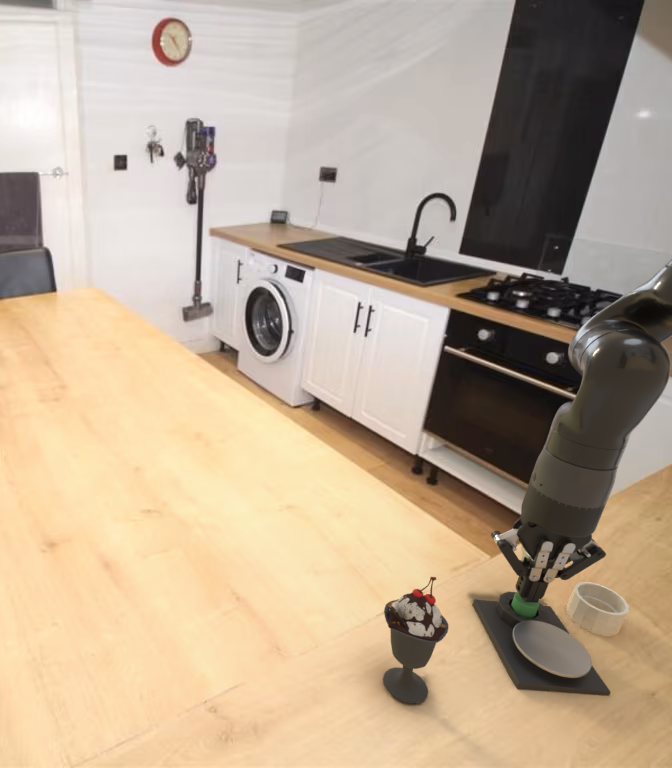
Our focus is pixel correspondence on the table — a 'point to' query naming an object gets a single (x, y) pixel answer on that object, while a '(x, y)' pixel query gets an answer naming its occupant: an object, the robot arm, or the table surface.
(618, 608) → the bowl
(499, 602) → the scale
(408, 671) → the sundae
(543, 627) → the scale pan
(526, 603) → the tare button
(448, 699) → the table surface
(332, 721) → the table surface
